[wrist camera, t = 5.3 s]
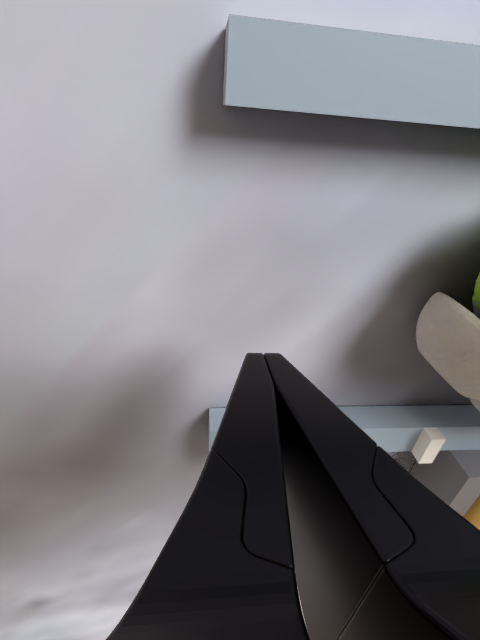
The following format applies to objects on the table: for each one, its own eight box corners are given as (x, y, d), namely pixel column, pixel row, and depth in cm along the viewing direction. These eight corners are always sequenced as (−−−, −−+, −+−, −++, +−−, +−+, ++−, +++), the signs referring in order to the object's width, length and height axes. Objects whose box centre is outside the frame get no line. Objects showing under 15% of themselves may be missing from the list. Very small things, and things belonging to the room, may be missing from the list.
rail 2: (630, 403, 16) (674, 434, 15) (610, 424, 17) (650, 456, 16) (209, 408, 14) (210, 444, 12) (208, 432, 15) (208, 470, 13)
